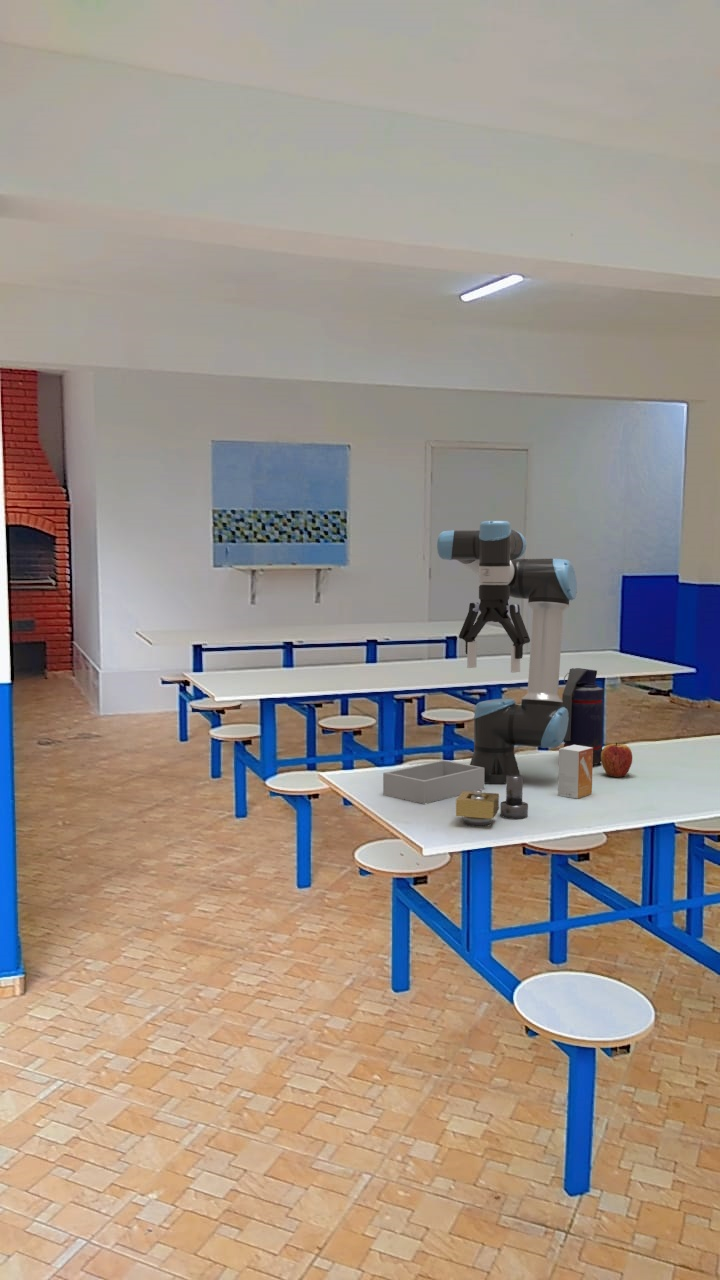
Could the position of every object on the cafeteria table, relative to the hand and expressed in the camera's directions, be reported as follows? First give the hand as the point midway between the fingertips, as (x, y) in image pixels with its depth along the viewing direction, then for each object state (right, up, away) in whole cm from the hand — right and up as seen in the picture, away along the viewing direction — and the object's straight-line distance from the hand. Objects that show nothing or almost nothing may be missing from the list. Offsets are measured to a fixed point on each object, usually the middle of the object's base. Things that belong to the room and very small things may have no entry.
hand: (493, 670), depth 249 cm
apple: (+43, -33, +49) cm, 73 cm away
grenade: (+36, -32, +66) cm, 82 cm away
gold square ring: (-4, -35, -4) cm, 35 cm away
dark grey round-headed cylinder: (+6, -37, +3) cm, 37 cm away
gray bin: (-12, -34, +29) cm, 46 cm away
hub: (-4, -37, -4) cm, 38 cm away
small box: (+26, -35, +25) cm, 50 cm away
